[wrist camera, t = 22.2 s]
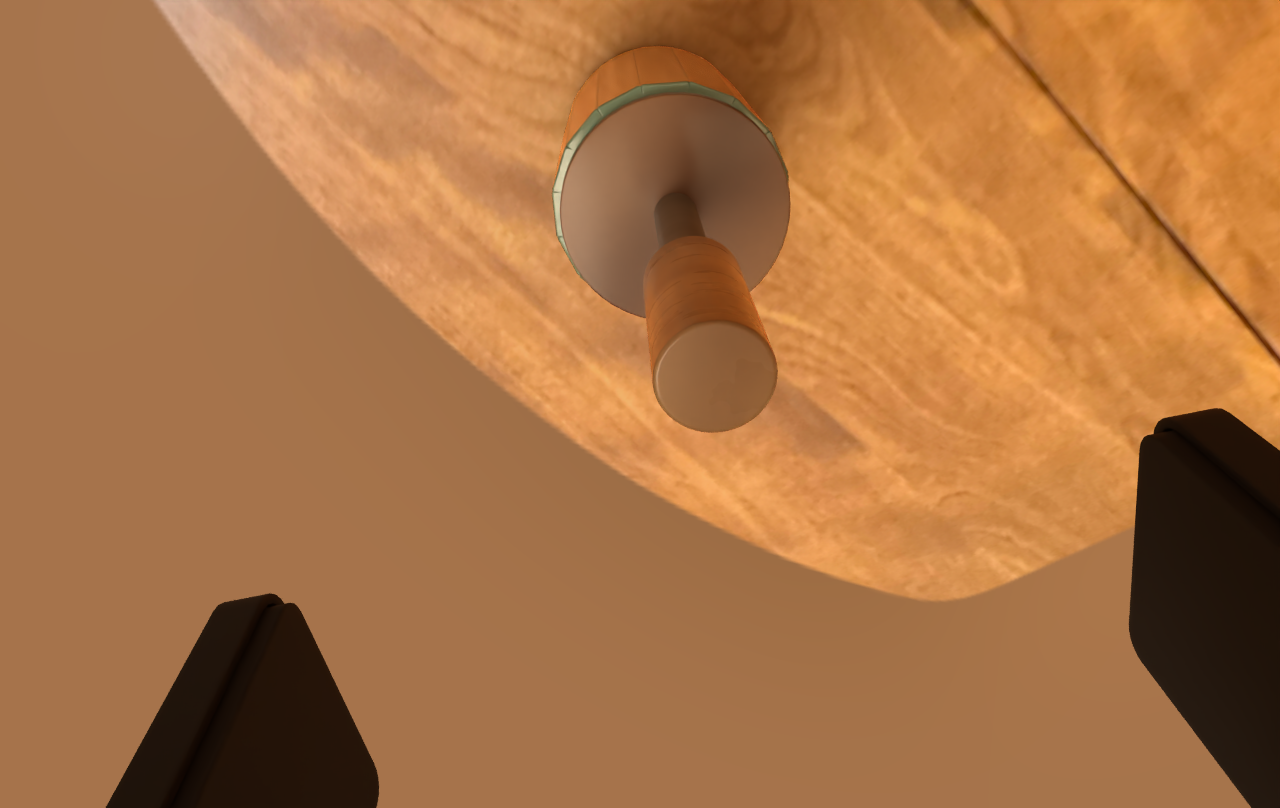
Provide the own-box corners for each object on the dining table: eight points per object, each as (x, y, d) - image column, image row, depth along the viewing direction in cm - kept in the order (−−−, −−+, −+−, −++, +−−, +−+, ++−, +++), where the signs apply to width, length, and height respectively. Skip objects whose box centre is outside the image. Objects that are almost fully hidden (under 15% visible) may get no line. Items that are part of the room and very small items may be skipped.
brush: (550, 209, 34) (492, 484, 17) (599, 30, 31) (590, 146, 14) (713, 258, 35) (814, 563, 18) (775, 89, 32) (962, 262, 15)
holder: (544, 198, 35) (525, 278, 27) (597, 18, 32) (594, 47, 24) (708, 250, 36) (737, 342, 28) (773, 81, 33) (826, 129, 25)
